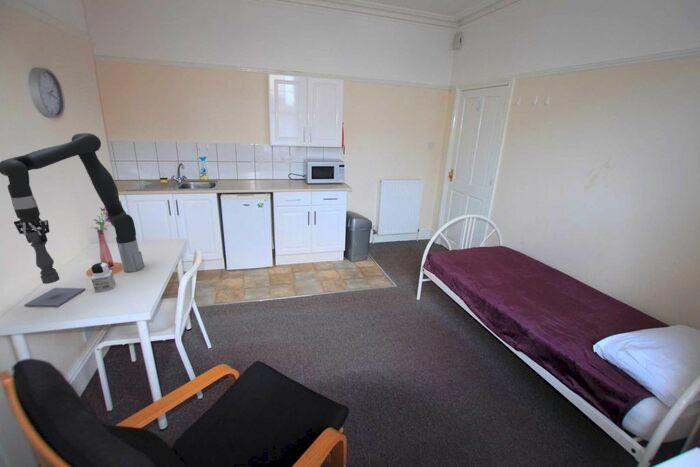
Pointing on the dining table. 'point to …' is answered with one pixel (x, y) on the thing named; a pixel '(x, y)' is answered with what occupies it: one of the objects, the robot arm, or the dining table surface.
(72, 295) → the mat
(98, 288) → the container
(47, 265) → the candle holder
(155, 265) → the dining table surface
